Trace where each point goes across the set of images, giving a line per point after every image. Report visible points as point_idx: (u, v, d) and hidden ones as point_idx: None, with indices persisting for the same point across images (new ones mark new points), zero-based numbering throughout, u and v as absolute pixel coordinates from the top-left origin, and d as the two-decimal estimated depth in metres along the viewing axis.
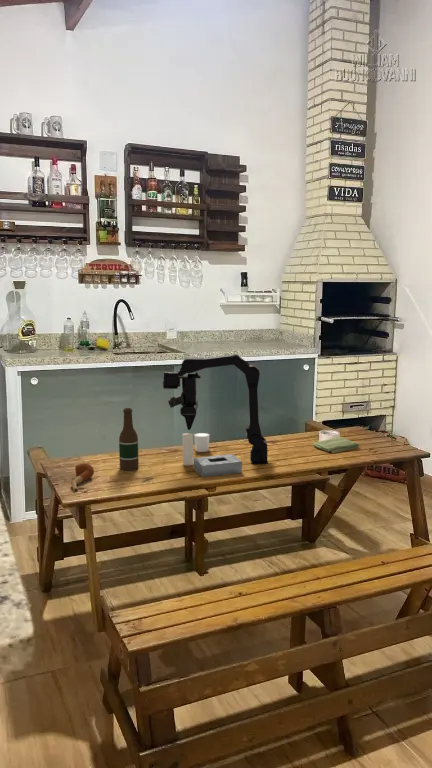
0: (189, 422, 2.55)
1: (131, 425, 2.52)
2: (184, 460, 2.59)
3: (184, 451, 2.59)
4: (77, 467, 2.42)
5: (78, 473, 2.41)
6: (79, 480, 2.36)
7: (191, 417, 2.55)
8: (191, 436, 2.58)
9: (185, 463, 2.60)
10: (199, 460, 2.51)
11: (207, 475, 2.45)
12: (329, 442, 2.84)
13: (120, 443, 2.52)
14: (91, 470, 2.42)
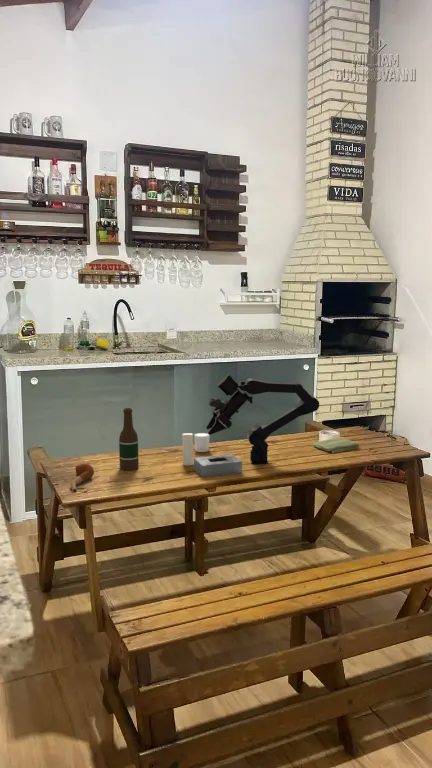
0: (215, 429, 2.54)
1: (131, 425, 2.52)
2: (184, 460, 2.59)
3: (184, 451, 2.59)
4: (77, 467, 2.42)
5: (78, 473, 2.41)
6: (78, 480, 2.35)
7: (220, 427, 2.54)
8: (191, 436, 2.58)
9: (185, 463, 2.60)
10: (199, 460, 2.51)
11: (207, 475, 2.45)
12: (329, 442, 2.84)
13: (120, 443, 2.52)
14: (91, 470, 2.41)
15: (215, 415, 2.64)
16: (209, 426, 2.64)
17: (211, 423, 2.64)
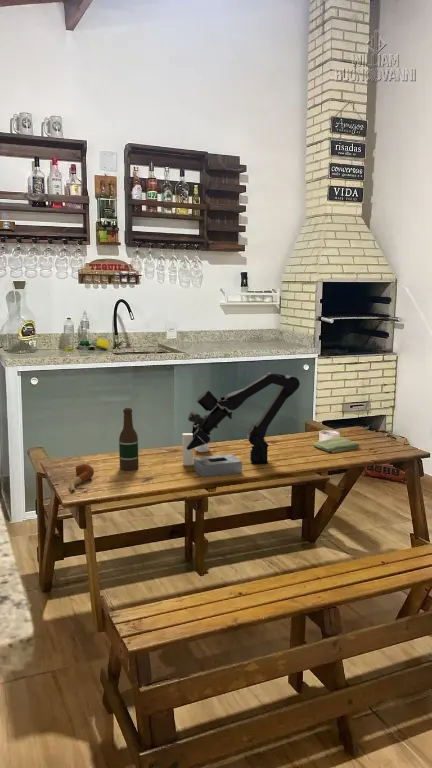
0: (193, 444, 2.54)
1: (131, 425, 2.52)
2: (184, 460, 2.59)
3: (184, 451, 2.59)
4: (77, 468, 2.41)
5: (78, 474, 2.41)
6: (77, 481, 2.35)
7: (199, 442, 2.54)
8: (191, 436, 2.58)
9: (185, 463, 2.60)
10: (199, 460, 2.51)
11: (207, 475, 2.45)
12: (329, 442, 2.84)
13: (120, 443, 2.52)
14: (91, 471, 2.41)
15: (194, 430, 2.64)
16: None
17: None
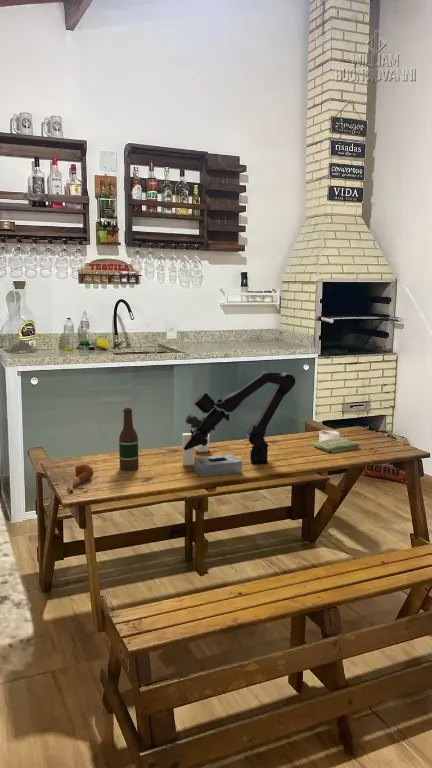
0: (190, 444, 2.57)
1: (131, 425, 2.52)
2: (184, 460, 2.59)
3: (184, 451, 2.59)
4: (76, 468, 2.41)
5: (77, 474, 2.40)
6: (76, 481, 2.34)
7: (196, 442, 2.57)
8: None
9: (185, 463, 2.60)
10: (199, 460, 2.51)
11: (207, 475, 2.45)
12: (329, 442, 2.84)
13: (120, 443, 2.52)
14: (90, 471, 2.40)
15: (193, 434, 2.61)
16: None
17: None
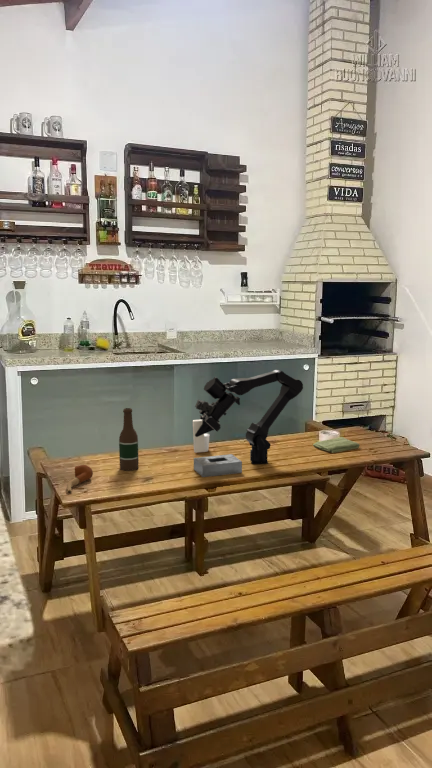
0: (202, 431, 2.51)
1: (131, 425, 2.52)
2: (195, 447, 2.53)
3: (195, 438, 2.53)
4: (76, 468, 2.40)
5: (76, 474, 2.40)
6: (75, 482, 2.34)
7: (207, 428, 2.51)
8: None
9: (196, 450, 2.54)
10: (199, 460, 2.51)
11: (207, 475, 2.45)
12: (329, 442, 2.85)
13: (120, 443, 2.52)
14: (89, 472, 2.40)
15: None
16: None
17: None
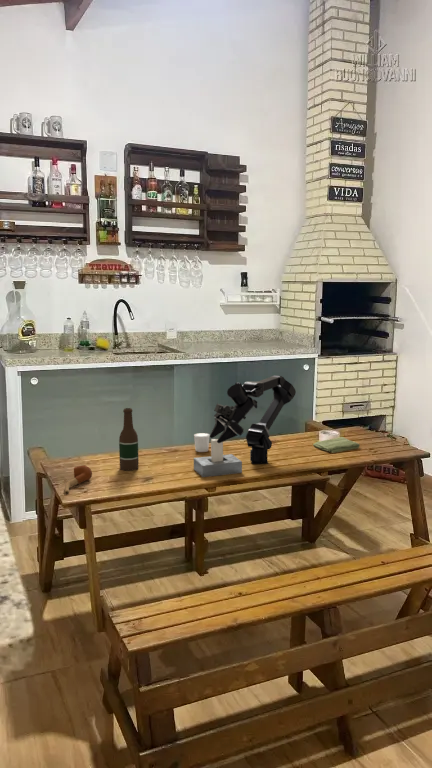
0: (224, 437, 2.45)
1: (131, 425, 2.52)
2: None
3: (214, 457, 2.50)
4: (75, 469, 2.40)
5: (75, 475, 2.39)
6: (73, 482, 2.33)
7: (230, 434, 2.45)
8: None
9: None
10: (199, 460, 2.51)
11: (207, 475, 2.45)
12: (329, 442, 2.85)
13: (120, 443, 2.52)
14: (88, 473, 2.39)
15: (218, 423, 2.54)
16: (213, 435, 2.54)
17: (214, 431, 2.54)
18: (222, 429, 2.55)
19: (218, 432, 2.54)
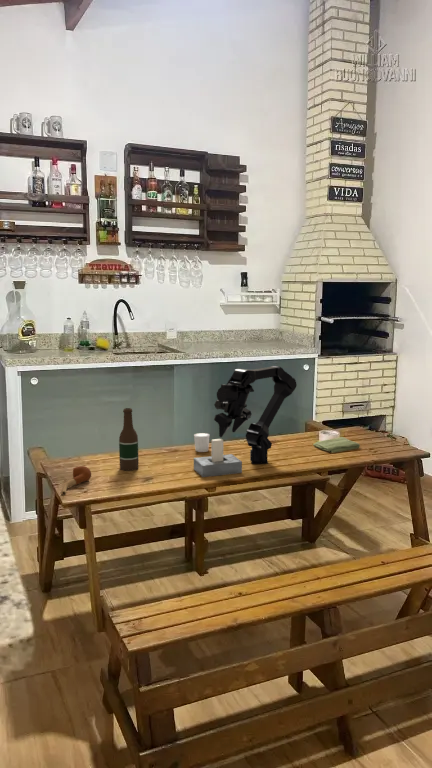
0: (221, 430, 2.53)
1: (131, 425, 2.52)
2: None
3: (214, 457, 2.49)
4: (74, 469, 2.39)
5: (74, 476, 2.38)
6: (71, 483, 2.33)
7: (224, 427, 2.52)
8: (222, 442, 2.49)
9: None
10: (199, 460, 2.51)
11: (207, 475, 2.45)
12: (329, 442, 2.85)
13: (120, 443, 2.52)
14: (87, 473, 2.38)
15: None
16: (234, 429, 2.62)
17: (235, 426, 2.62)
18: (241, 422, 2.60)
19: (238, 425, 2.61)
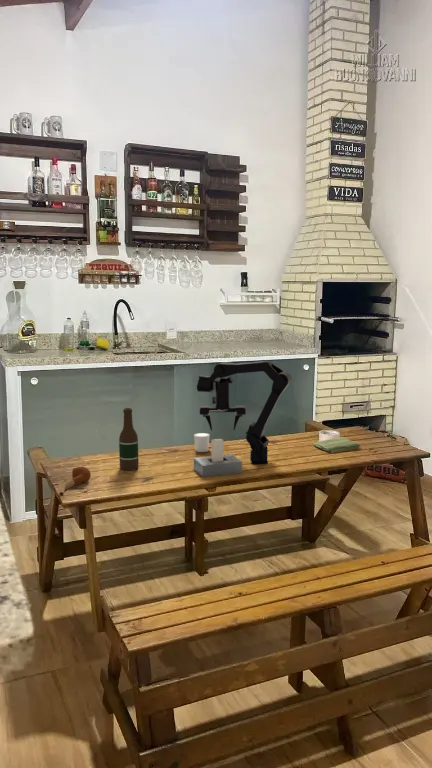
0: None
1: (131, 425, 2.52)
2: None
3: (214, 457, 2.49)
4: (73, 470, 2.39)
5: (74, 476, 2.38)
6: (70, 483, 2.32)
7: None
8: (222, 442, 2.49)
9: None
10: (199, 460, 2.51)
11: (207, 475, 2.45)
12: (330, 442, 2.85)
13: (120, 443, 2.52)
14: (86, 474, 2.37)
15: None
16: None
17: None
18: (234, 418, 2.64)
19: (234, 422, 2.65)
